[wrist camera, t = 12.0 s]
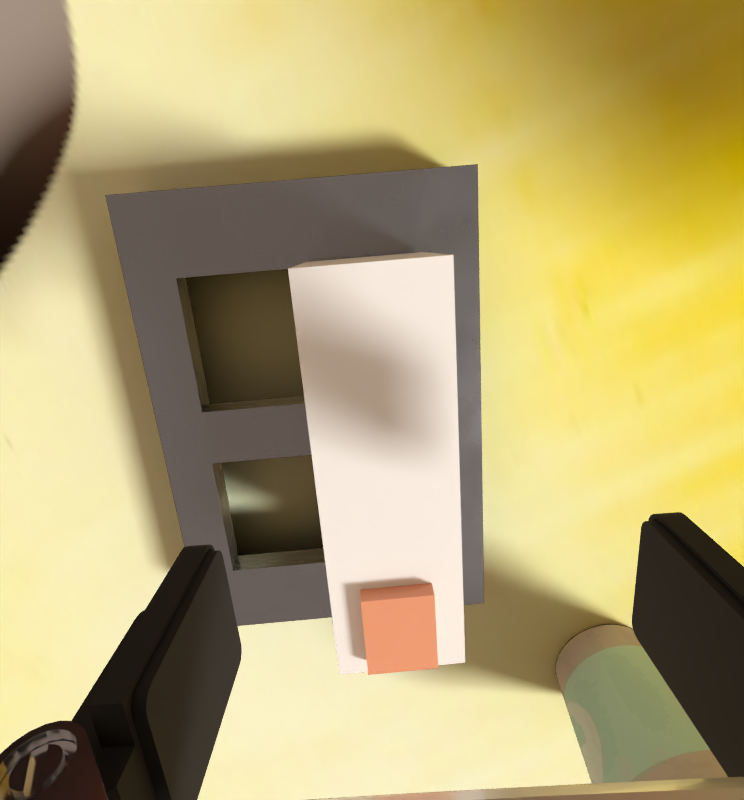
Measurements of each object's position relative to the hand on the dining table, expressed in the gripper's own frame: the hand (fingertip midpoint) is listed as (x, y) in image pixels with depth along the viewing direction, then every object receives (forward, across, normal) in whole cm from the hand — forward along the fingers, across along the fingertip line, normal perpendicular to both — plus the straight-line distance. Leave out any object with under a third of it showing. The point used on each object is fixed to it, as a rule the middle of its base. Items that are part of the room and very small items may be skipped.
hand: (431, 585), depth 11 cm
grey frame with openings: (+14, +4, 0) cm, 15 cm away
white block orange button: (+14, +1, 0) cm, 14 cm away
